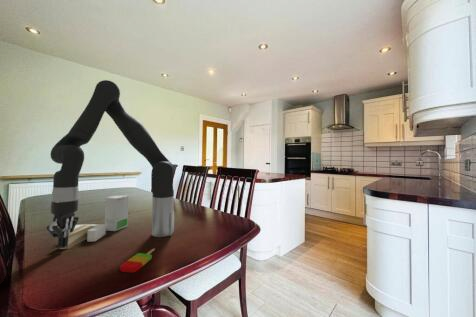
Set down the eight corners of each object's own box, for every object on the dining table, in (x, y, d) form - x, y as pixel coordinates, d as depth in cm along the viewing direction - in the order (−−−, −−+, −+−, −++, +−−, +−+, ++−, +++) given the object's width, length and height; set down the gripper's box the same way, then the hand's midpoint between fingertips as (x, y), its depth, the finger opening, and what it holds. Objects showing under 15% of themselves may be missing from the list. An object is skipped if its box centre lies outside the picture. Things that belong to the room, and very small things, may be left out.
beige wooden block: (91, 236, 88) (91, 225, 88) (68, 248, 76) (68, 235, 76) (83, 236, 88) (83, 225, 88) (58, 248, 76) (59, 235, 76)
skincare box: (115, 231, 94) (116, 198, 94) (103, 230, 95) (104, 197, 95) (128, 226, 102) (129, 195, 102) (117, 225, 103) (118, 194, 104)
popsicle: (118, 272, 61) (118, 266, 61) (147, 250, 76) (147, 245, 76) (134, 274, 61) (134, 268, 61) (161, 251, 75) (161, 247, 75)
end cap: (105, 234, 91) (105, 224, 91) (95, 241, 83) (95, 230, 83) (76, 234, 89) (76, 224, 89) (63, 242, 81) (63, 231, 81)
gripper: (67, 196, 80) (64, 240, 79) (38, 202, 67) (35, 255, 66) (87, 196, 81) (85, 240, 80) (63, 202, 68) (60, 254, 67)
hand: (62, 247), depth 73 cm, fingers closed
